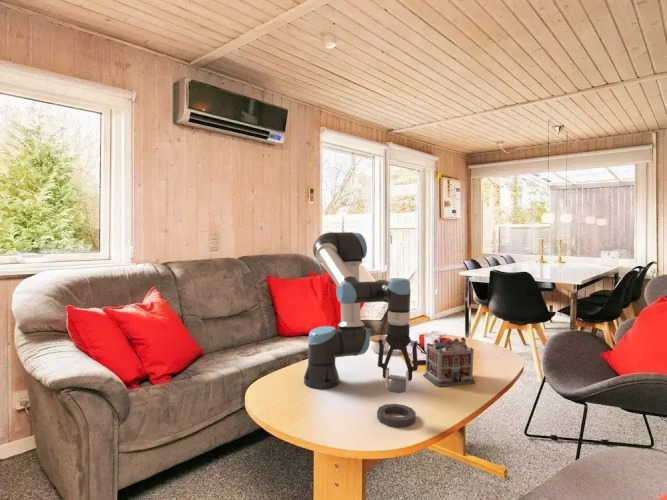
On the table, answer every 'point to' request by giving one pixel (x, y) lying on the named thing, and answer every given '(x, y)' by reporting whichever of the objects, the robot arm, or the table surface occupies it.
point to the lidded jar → (377, 343)
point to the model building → (449, 363)
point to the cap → (397, 383)
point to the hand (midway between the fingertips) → (397, 388)
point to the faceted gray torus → (396, 421)
